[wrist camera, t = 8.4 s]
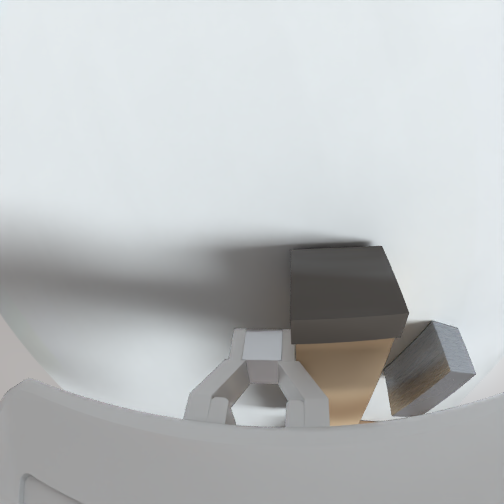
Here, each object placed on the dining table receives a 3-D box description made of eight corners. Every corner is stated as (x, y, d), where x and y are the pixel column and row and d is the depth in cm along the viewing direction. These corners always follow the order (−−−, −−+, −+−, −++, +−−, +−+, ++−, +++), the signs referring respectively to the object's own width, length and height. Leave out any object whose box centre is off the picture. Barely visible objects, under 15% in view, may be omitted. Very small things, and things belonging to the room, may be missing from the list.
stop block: (457, 328, 14) (476, 374, 11) (410, 373, 17) (419, 416, 14) (432, 320, 14) (450, 371, 11) (383, 369, 17) (391, 416, 14)
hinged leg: (343, 410, 20) (345, 453, 17) (295, 412, 20) (293, 456, 17) (381, 245, 11) (409, 312, 8) (290, 249, 12) (290, 320, 9)
